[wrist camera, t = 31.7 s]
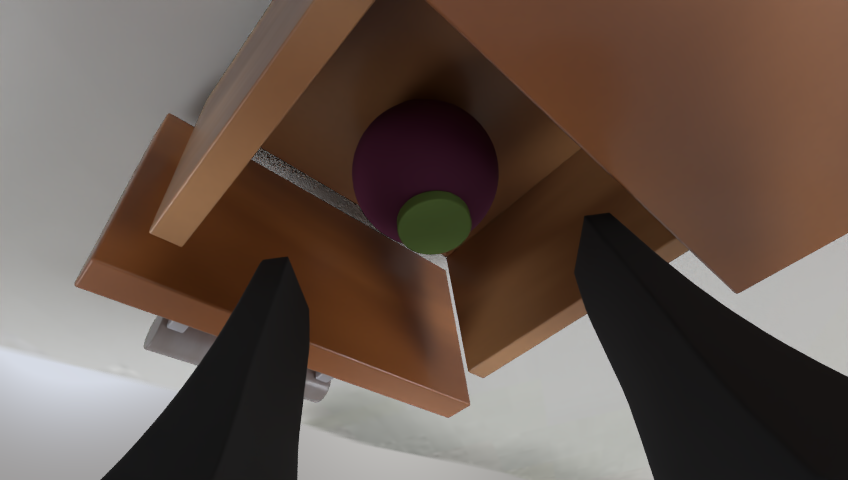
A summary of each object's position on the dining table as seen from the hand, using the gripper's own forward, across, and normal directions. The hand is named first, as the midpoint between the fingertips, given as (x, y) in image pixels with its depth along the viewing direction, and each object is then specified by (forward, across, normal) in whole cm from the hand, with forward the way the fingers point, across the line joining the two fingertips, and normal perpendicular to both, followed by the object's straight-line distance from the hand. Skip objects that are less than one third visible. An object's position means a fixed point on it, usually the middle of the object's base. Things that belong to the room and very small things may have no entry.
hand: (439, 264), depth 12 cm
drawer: (+7, +2, +2) cm, 7 cm away
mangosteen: (+6, 0, 0) cm, 6 cm away
